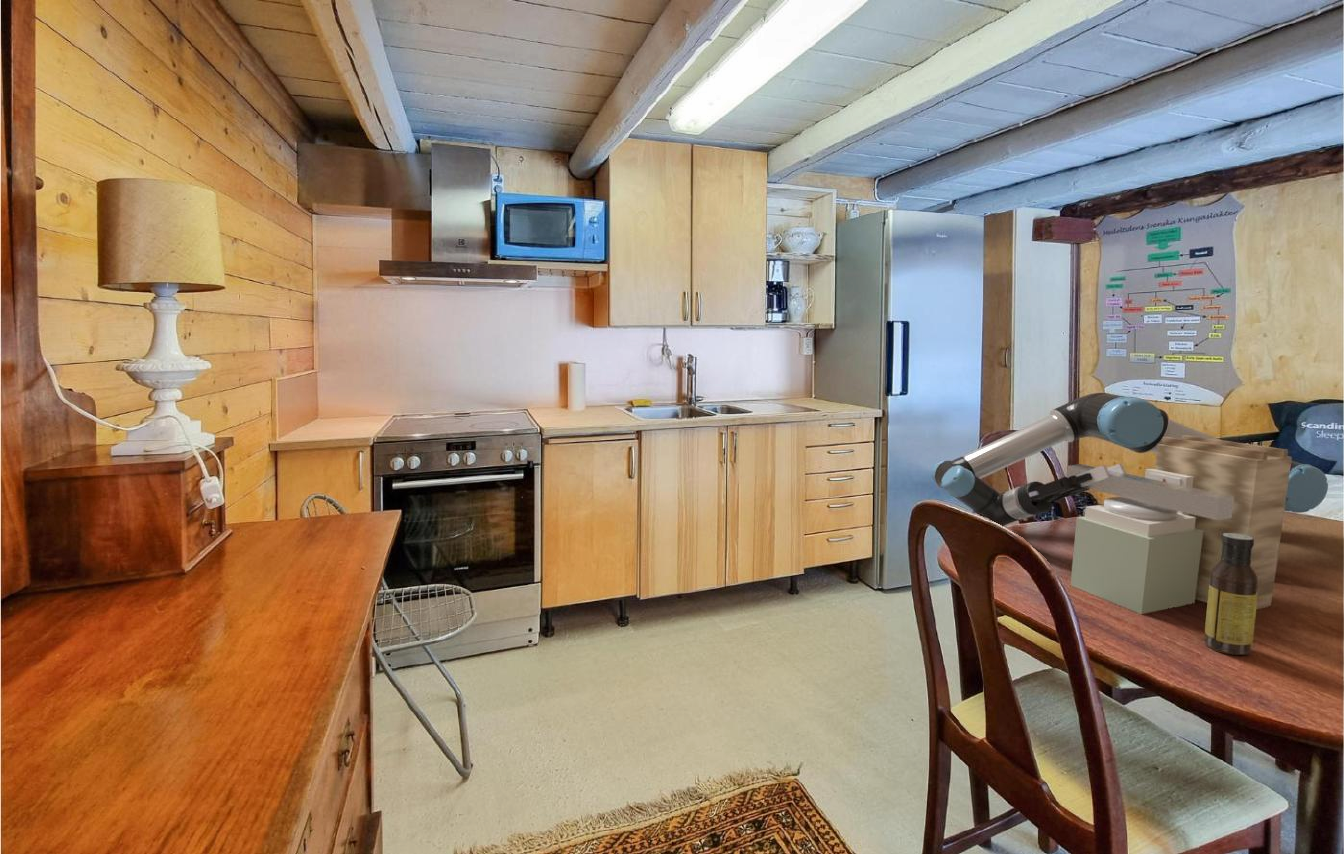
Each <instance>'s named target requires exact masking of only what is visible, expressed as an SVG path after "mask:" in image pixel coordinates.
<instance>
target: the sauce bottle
mask: <svg viewBox="0 0 1344 854" xmlns="http://www.w3.org/2000/svg"><path fill="white" fill-rule="evenodd" d="M1222 543H1223V547H1222V555H1221V561H1220V562H1219V563H1218V564H1217V565H1216V566H1215V567H1214V568H1213V569H1212V571H1211V579H1210V584H1209V592H1208V603H1206V604H1207V606H1206V615H1205V616H1206V617H1205V625H1204V626H1205V627H1204V633H1205V636H1204V643H1205V645H1207V646H1208V647H1209V648H1210V649H1212V650H1214V651H1217V652H1219V653H1223V654H1228V655H1237V656H1239V655H1240V656H1241V655H1247V654H1250V653H1251V649H1252V644H1253V641H1254V632H1255V626H1256V625H1255V624H1256V615H1257V610H1256V606H1257V595H1258V579H1257V576H1256V574H1255V572H1254V571H1253V569H1252V568H1251V566H1250V565H1251V551H1252V548H1253V546H1254V539H1253V538H1252V537H1250V536H1247V535H1243V534H1236V533H1224V534H1223V535H1222Z"/></svg>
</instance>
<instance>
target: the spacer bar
mask: <svg viewBox="0 0 1344 854" xmlns="http://www.w3.org/2000/svg"><path fill="white" fill-rule="evenodd" d="M1094 468H1097V467H1096V466H1090V465H1086V464H1082V463H1080V464H1071V465H1070V464H1069V465H1067V471H1066V477H1067V478H1069V477H1070V476H1073V475H1074V476H1076V477H1078V476H1077V474H1080V473H1083V472H1086V471H1088V470H1091V469H1094ZM1108 472H1109V474H1110V478H1107V479H1104V480H1101V481H1098V482H1095V483H1092V484H1089V485H1086V486H1082V487H1084V488H1088V489H1090V490H1092V491H1096V492H1100V493H1105V494H1108V495H1109V494H1110V495H1113V496H1115V497H1116V496H1117V497H1124V498H1128V499H1132V500H1137V501H1141V502H1145V503H1149V504H1153V505H1157V506H1161V507H1165V508H1169V509H1173V510H1177V511H1181V512H1185V513H1189V514H1193V515H1198V516H1202V517H1206V518H1210V519H1214V520H1222V519H1228V518H1232V511H1233V503H1234V496H1229V495H1225V494H1220V493H1215V492H1210V491H1206V490H1201V489H1196V488H1191V487H1187V486H1182V485H1177V484H1172V483H1168V482H1163V481H1158V480H1153V479H1149V478H1145V476H1138V475H1134V474H1130V473H1126V474H1125V473H1120V472H1115V471H1111V470H1108ZM1079 485H1080V487H1081V484H1079Z"/></svg>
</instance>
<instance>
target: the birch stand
mask: <svg viewBox="0 0 1344 854" xmlns="http://www.w3.org/2000/svg"><path fill="white" fill-rule="evenodd" d="M1292 459H1293V457H1292V456H1289V449H1287V448H1285V449H1284V448H1280V447H1278V448H1277V447H1270V446H1264V445H1256V444H1251V443H1250V444H1249V443H1243V442H1235V441H1230V440H1223V439H1220V440H1216V439H1209V438H1202V437H1195V436H1188V435H1183V436H1182V439H1177V438H1171V437H1163V439H1162V444H1159V445H1157V452H1156V453H1155V462H1154V469H1156V470H1162V471H1167V472H1172V473H1177V474H1182V475H1187V476H1192V477H1193V485H1192V488H1196V489H1201V490H1206V491H1210V492H1215V493H1220V494H1225V495H1229V496H1234V503H1233V511H1232V518H1228V519H1222V520H1214V519H1210V518H1206V517H1202V516H1198V515H1193V514H1189V516H1192V517H1196V521H1195V529H1199V530H1203V538H1202V546H1201V554H1200V562H1199V571H1198V579H1197V587H1196V595H1195V600H1198V601H1200V602H1203V603H1206V604H1207V603H1208V592H1209V584H1210V579H1211V571H1212V569H1213V568H1214V567H1215V566H1216V565H1217V564H1218V563H1219V562H1220V561H1221V555H1222V547H1223V543H1222V535H1223V534H1224V533H1236V534H1243V535H1247V536H1250V537H1252V538H1253V539H1254V546H1253V548H1252V551H1251V565H1250V566H1251V568H1252V569H1253V571H1254V572H1255V574H1256V576H1257V579H1258V595H1257V606H1256V611H1257V610H1260V609H1264V608H1269V606H1270V607H1271V605H1272V599H1273V593H1274V592H1273V591H1274V586H1275V578H1276V576H1275V573H1276V574H1277V569H1276V565H1277V566H1278V562H1277V558H1278V559H1279V555H1278V551H1279V552H1280V548H1279V544H1280V545H1281V537H1282V530H1283V522H1284V517H1285V516H1284V515H1285V511H1284V509H1285V502H1286V495H1287V488H1288V481H1289V474H1290V467H1291V461H1293V460H1292Z"/></svg>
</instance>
